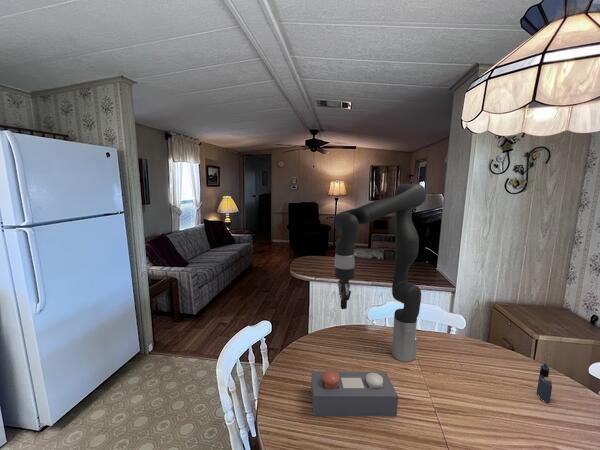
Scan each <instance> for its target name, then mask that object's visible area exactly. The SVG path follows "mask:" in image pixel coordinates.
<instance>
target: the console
mask: <svg viewBox="0 0 600 450" xmlns="http://www.w3.org/2000/svg"><path fill="white" fill-rule="evenodd" d="M323 372H324V371H311V378H310V379H311V382H310V383H311V384H310V391H311V403H312V413H313V417H397V416H398V406H399V405H398V403H399V396H398V394H397V391H396V389H395V387H394V385H393V383H392V381H391V379H390V378H389V376H388V374H387V371H336V372H337V373H338V375H339V382H338V388H324V386H323V380H322V375H323ZM368 373H377V374H379V375H380V376H382V378H383V385H382V386H383V389H369V387H368V385H367V383H366V375H367V374H368Z"/></svg>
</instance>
